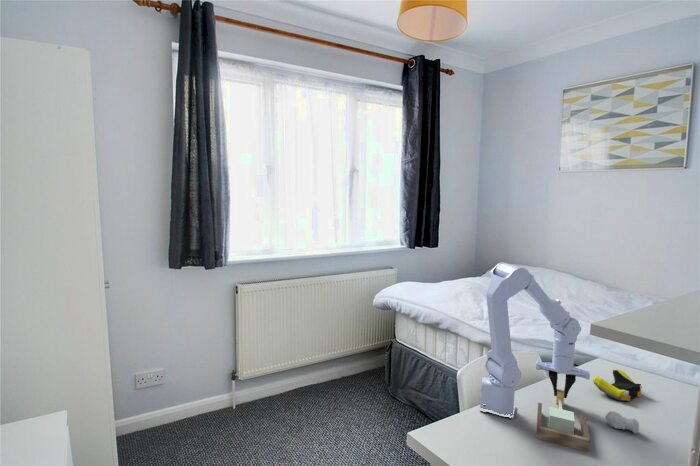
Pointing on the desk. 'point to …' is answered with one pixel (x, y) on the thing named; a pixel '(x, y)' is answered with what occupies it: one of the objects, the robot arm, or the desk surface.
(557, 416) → the tethered block
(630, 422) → the smooth white sculpture
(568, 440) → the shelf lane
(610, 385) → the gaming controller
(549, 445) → the desk surface
